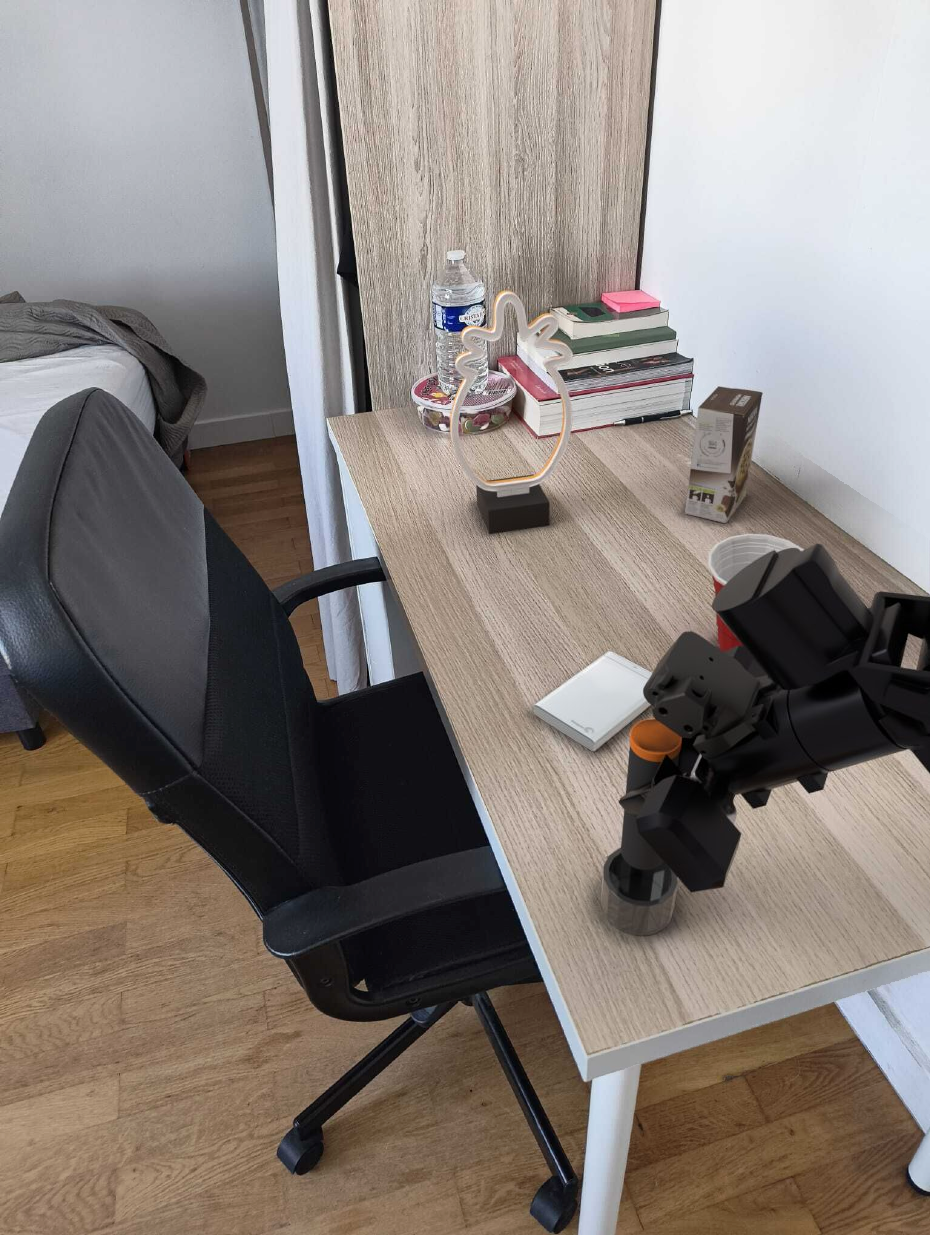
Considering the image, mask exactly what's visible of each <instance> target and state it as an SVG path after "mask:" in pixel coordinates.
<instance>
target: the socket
mask: <svg viewBox="0 0 930 1235" xmlns="http://www.w3.org/2000/svg"><path fill="white" fill-rule="evenodd" d="M678 885H679V878H678V877H677V876H676V875H675V874H674V873H673V872H672V870H671V869H670V868H669V867H668V866H667V865H666V864H665V862H664V861H663V863H662V864H661V865H660V866H658V867H656V868H654V869H651V870H641V869H637V868H634V867H632V866H631V865H629V864H628V863H627V862H626V861H625V860H624V858H623V857H622V854H621V847H618V848H617V849H616V850H615V851H613V852H612V853H610V854H609V855H608V856H607V858H606V860H605V862H604V864H603V867H602V879H601V893H600V894H601V895H600V896H601V897H600V898H601V899H600V903H601V908H602V912H603V915H604V916H605V918H606V919H607V921H608V922H609V923H610V924H611V925H612V926H614V928H616V929H618V930H619V931H621V932H623V933H624V934H628V935H631V936H637V937H645V936H651V935H654V934H657V933H659V932H661V931H662V930H664V929H665V928H666V927H667V926H668V925H669V923H670V921H671V919H672V917H673V912H674V910H675V903H676V898H677V891H678Z"/></svg>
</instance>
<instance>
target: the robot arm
mask: <svg viewBox="0 0 930 1235" xmlns="http://www.w3.org/2000/svg"><path fill="white" fill-rule="evenodd" d="M711 608H712V610H713V612H715V615H716V614H717V615H718V616H719V617H720V618H721V620H722V621H723V622H724V623H725V625H726V626H727V627H728V628H729V629H730V631H731V632H732V633H733V634H734V635H735V637H736V638H737V639H738V640H739V642H740V643H741V644H742V645H743V646H740V645H738V646H736V647H734V648H732V649H729V650H727V651H725V652H724V651H722V650H721V649H720V648H719V646H717V645H715V644H714V643H712V642H710V641H709V640H707V639H706V638H705V637H703V636H702V635H700V634H699V633H696V632H694V631H691V630H687V631H683V632H682V633H681V634H680V635H679V637H677V639H676V640H675V641H674V642H673V643H672V645H671V646H670V647H669V648H668V650H667V651H666V652H665V653H664V655H663V656H662V657H661V658H660V659H659V661H658V662H657V664H656V666H655V668H654V670H653V671H652V675H651V676H650V678H649V680H648V681H647V683H646V684H645V686H644V688H643V695H644V697H645V699H646V700H647V701H648V703H650V704H651V705H650V706H652V707H653V708H652V709H651V713H652V716H653V719H656V720H657V721H659V722H660V723H662V724H663V725H664V726H666V727H667V728H669V729H670V730H672V731H673V732H674V733H676V734H677V735H679V736H680V737H682V743H681V749H680V752H679V759H678V766H676V764H675V763H674V762H673V761H672V760H671V759H670V757H669V756H668V755H667V754H666V755H665V756H664V758H663V760H662V762H661V764H660V766H659V768H658V770H657V772H656V774H655V776H654V778H653V780H652V781H650V782H648V783H646V784H644V785H642V786H640V787H638V788H636V789H634V790H632V791H631V792H629V793H627V794H626V793H625V794H624V795H623V796H621V797H620V798H619V800H618V804H619V806H620V807H621V808H622V809H623V811H624V810H625V811H626V812H628V813H632V814H635V815H638V816H637V818H636V823H637V828H638V833H639V834H640V835H641V836H642V837H643V838H644V839H645V841H646V842H647V843H648V844H649V845H650V846H651V847H652V849H653V850H654V851H655V852H656V853H657V854H658V855H659V857H660V858H661V859H662V860H663V861H664V862H665V864H666V865H667V866H668V867H669V868H670V869H671V870H672V872H673V873H674V874H675V875H676V876H677V878H678V881H680V882H681V883H682V884H683V885H684V887H685V888H686V889H687V890H688V891H689V892H690V893H693V894H694V893H702V892H707V891H712V890H713V891H714V890H718V889H722V888H724V887H725V884H726V881H727V879H728V876H729V873H730V871H731V868H732V866H733V863H734V860H735V857H736V855H737V852H738V849H739V846H740V841H741V838H742V832H741V831H740V830H739V829H738V827H736V825H735V822H736V819H737V815H738V811H737V808H736V805H735V803H734V800H735V798H736V796H739V795H740V796H741V797H742V798H743V799H744V800H745V801H746V803H747V804H748V805H749V806H750V807H751V809H752V810H755V809H758V808H762V807H766V806H767V804H768V801H769V798H770V796H771V793H772V791H773V790H774V789H777V788H781V787H784V786H788V785H791V784H794V783H799V784H800V786H802V788H803V790H805V791H806V793H807V794H813V793H816V792H821V791H823V790H824V789H825V785H826V782H827V778H828V775H829V774H830V773H832V772H835V771H838V770H839V771H840V770H842V769H846V768H850V767H853V766H857V765H859V764H864V763H867V762H870V761H874V760H876V759H880V758H884V757H887V756H891V755H894V754H897V753H900V752H904V751H908V750H909V751H910V752H911V753H912V754H913V755H914V756H915V758H916V759H917V760H918V761H919V762H920V764H921V765H922V766H923V767H924V769H925V770H926V771H927V773H928V774H929V775H930V596H927V595H917V594H908V593H900V592H899V593H898V592H891V591H881V590H880V591H876V593H874V595H873V598H872V601H871V605H870V607H868V606H867V605H866V604H865V602H864V601H863V600H862V598H861V597H860V596H859V595H858V593H856V591H855V590H854V588H853V587H852V586H851V584H850V583H849V582H848V581H847V580H846V578H845V577H844V576H843V575H842V573H841V572H840V570H839V568H838V566H837V563H836V561H835V559H834V558H833V557H832V554H830V553H829V552H828V550H827V549H826V547H825V546H824V545H823V544H821V543H815V544H813V545H811V546H809V547H807V548H805V549H804V550H803V551H800V550H799V549H798V548H788V549H784V550H781V551H779V552H776V551H775V550H773V551H771V552H769V553H767V554H765V555H763V556H761V557H760V558H758V559H756V560H755V561H753V562H752V563H750V564H749V565H748V566H746V567H745V568H744V569H742V570H741V571H740V572H738V573H737V574H736V575H735V576H734V577H733V578H732V579H730V580H729V581H728V582H727V583H726V584H725V585H724V586H723V588H722V589H721V590H720V591H719V592H718V594H717V595H716V596H715V595H714V598H713V599H712V604H711ZM909 635H910V636H912V637H915V638H918V639H920V640H922V641H921V647H920V650H919V655H918V660H917V664H916V668H908V667H902V663H903V659H904V654H905V650H906V646H907V644H908V643H907V642H908V639H909V638H908V637H909Z"/></svg>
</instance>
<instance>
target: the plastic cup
mask: <svg viewBox="0 0 930 1235" xmlns="http://www.w3.org/2000/svg"><path fill="white" fill-rule="evenodd" d="M788 548H798V549H799V550H800V551H803V550H805V549H804V548H802V547H801V546H799V545H797V544H796V543H794V542H792V541H790V540H788V539H786V538H782V537H778V536H774V535H771V534H765V533H764V534H763V533H744V534H738V535H732V536H729V537H726V538H725V539H722V540H721V541H718V542H717V543H715V545H713V547H712V548H711V550H710V551H708V553H707V568H708V570H709V572H710V574H711V575H712V581H713V588H714V597H715V596H716V595H717V594H718V592H719V591H720V590H721V589H722V588H723V586H724V585H725V584H726V583H727V582H728V581H729V580H730V579H732V578H733V577H734V576H735V575H736V574H737V573H738V572H740V571H741V570H742V569H744V568H745V567H746V566H748V565H749V564H750V563H752V562H753V561H755V560H756V559H758V558H760V557H761V556H763V555H765V554H767V553H769V552H771V551H773V550H775V551H776V552H779V551H781V550H784V549H788ZM715 619H716V626H717V644H718V648H719V649H721V650H722V651H724V652H725V651H727V650H729V649H732V648H734V647H736V646H738V645H740V646H743V645H742V644H741V643H740V642H739V640H738V639H737V638H736V637H735V635H734V634H733V633H732V632H731V631H730V629H729V628H728V627H727V626H726V625H725V623H724V622H723V621H722V620H721V618H720V617H719V616H718V615H717V614H716V613H715Z"/></svg>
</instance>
